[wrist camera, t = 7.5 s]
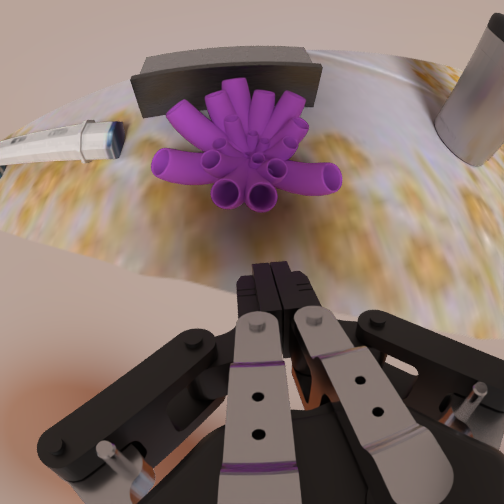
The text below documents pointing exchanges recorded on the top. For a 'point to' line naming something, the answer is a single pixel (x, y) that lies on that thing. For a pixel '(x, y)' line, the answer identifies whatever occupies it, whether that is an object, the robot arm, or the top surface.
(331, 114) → the top surface
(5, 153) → the white handheld device
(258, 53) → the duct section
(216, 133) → the purple tube coral
